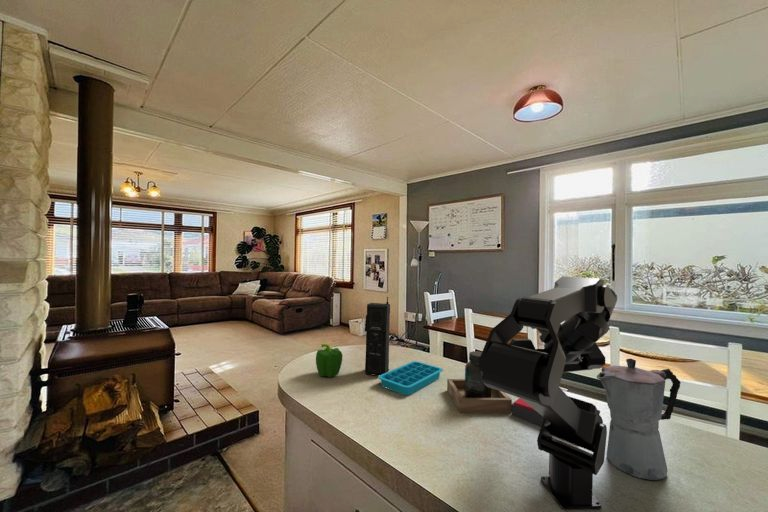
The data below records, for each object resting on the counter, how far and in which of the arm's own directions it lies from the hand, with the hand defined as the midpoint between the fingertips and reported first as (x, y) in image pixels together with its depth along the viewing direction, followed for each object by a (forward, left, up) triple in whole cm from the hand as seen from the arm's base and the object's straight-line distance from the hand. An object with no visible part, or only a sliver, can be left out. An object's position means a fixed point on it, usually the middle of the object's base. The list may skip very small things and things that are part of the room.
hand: (536, 371), depth 69 cm
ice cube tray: (+28, +24, -14) cm, 40 cm away
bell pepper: (+33, +50, -14) cm, 61 cm away
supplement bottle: (+15, +8, -13) cm, 21 cm away
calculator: (+6, -7, -14) cm, 17 cm away
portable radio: (+35, +35, -14) cm, 52 cm away
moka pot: (-10, -14, -14) cm, 22 cm away
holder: (+15, +8, -14) cm, 22 cm away
